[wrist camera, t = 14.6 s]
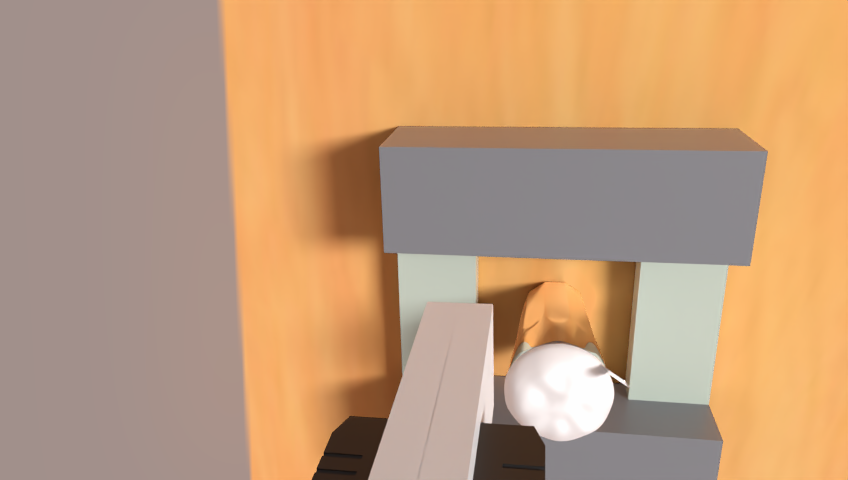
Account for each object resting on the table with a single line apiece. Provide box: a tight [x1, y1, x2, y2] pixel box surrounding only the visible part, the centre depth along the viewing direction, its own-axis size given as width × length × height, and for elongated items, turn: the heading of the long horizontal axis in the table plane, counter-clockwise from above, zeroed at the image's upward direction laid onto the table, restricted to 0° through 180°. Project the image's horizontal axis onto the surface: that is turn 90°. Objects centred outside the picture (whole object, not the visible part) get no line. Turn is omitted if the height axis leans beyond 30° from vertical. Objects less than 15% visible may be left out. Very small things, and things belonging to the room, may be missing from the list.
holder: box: [379, 126, 768, 480], centre depth 34 cm, size 19×16×4 cm
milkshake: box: [504, 282, 630, 441], centre depth 32 cm, size 4×5×10 cm
